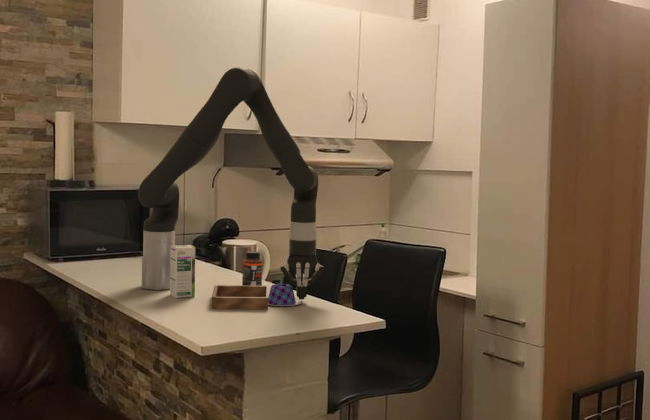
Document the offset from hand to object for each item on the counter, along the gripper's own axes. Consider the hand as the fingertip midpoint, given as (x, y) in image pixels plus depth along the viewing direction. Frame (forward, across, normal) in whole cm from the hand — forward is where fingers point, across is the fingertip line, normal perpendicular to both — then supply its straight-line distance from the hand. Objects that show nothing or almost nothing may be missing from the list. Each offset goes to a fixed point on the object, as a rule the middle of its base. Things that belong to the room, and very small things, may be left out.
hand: (301, 298), depth 205 cm
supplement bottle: (+1, -14, +19) cm, 24 cm away
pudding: (+2, -6, 0) cm, 6 cm away
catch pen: (+1, -17, 0) cm, 17 cm away
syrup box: (+1, -34, +8) cm, 34 cm away
